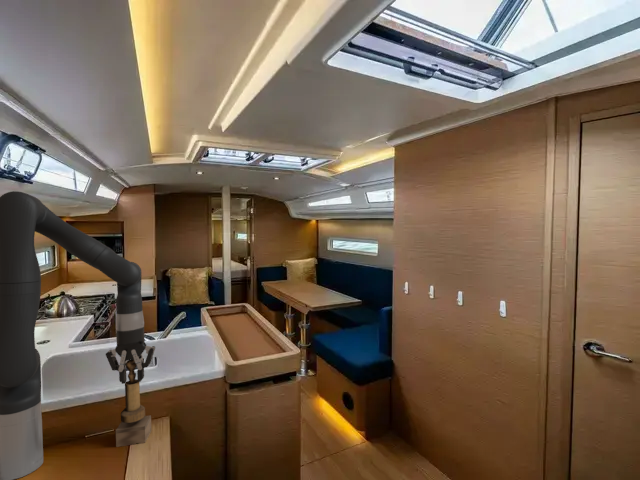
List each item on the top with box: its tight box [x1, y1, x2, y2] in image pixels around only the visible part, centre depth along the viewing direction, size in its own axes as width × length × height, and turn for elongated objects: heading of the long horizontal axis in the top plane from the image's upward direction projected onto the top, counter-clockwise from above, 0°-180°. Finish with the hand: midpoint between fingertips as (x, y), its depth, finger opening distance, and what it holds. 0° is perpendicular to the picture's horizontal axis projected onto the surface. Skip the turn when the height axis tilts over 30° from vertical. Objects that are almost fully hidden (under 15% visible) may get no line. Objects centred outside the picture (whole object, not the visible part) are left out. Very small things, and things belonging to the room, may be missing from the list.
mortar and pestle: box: [120, 360, 146, 423], centre depth 104 cm, size 7×6×18 cm
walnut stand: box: [115, 415, 152, 448], centre depth 104 cm, size 8×6×5 cm
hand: (132, 381), depth 103 cm, fingers closed on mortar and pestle, 4 cm apart
